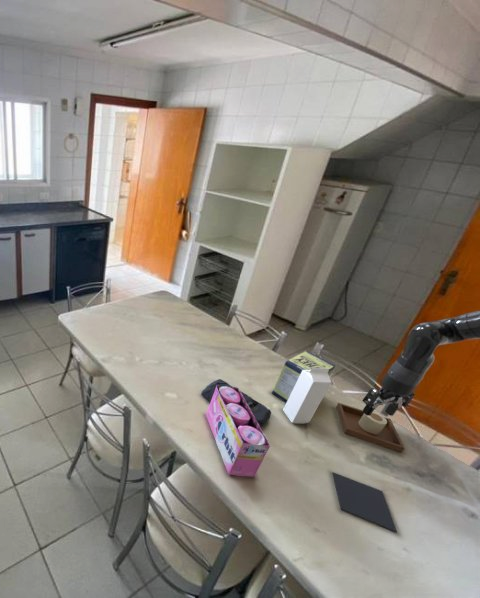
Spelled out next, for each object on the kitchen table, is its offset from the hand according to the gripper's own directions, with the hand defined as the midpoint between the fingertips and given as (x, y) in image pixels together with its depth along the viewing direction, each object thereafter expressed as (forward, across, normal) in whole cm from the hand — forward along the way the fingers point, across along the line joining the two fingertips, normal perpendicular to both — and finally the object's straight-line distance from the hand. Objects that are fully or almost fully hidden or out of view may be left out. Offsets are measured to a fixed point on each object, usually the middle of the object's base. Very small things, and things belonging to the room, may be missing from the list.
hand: (377, 413), depth 111 cm
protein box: (+8, -16, +16) cm, 24 cm away
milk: (+8, -23, +5) cm, 25 cm away
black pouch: (+8, -43, +11) cm, 45 cm away
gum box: (+8, -54, -5) cm, 55 cm away
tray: (+7, -1, 0) cm, 7 cm away
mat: (+7, -24, -24) cm, 35 cm away
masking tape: (+6, 0, 0) cm, 7 cm away
